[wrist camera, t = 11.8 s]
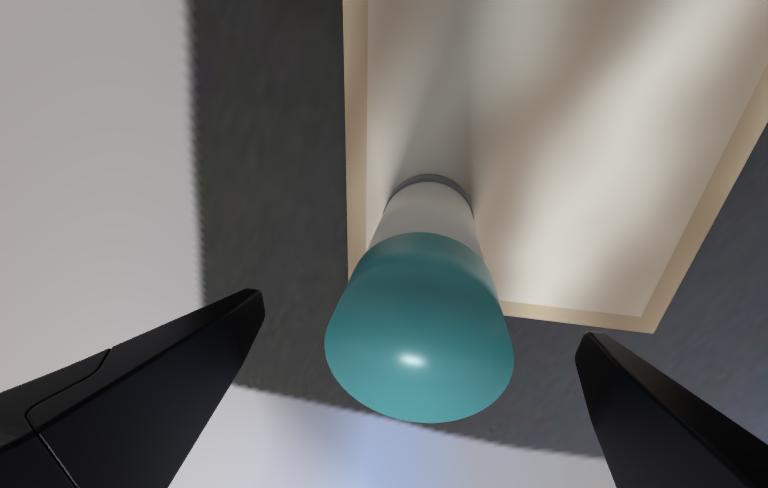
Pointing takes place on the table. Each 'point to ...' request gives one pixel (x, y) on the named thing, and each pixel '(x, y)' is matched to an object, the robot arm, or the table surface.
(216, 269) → the table surface
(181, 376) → the robot arm
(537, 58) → the picture frame
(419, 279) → the cylinder
